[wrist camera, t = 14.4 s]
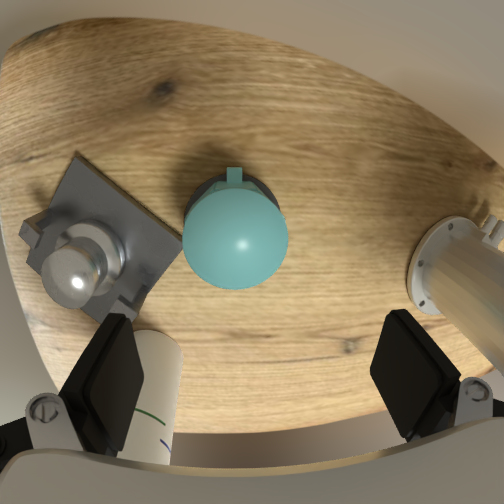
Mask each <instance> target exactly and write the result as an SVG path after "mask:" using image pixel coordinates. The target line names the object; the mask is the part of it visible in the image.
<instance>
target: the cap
mask: <svg viewBox="0 0 504 504" xmlns="http://www.w3.org/2000/svg"><path fill="white" fill-rule="evenodd" d="M182 244H183V250H184V254H185V257H186V259H187V262H188V263H189V265H190V267H191V268H192V269H193V271H194V272H195V273H196V274H197V275H198V276H199V277H200V278H202V279H203V280H204V281H206V282H208V283H210V284H212V285H214V286H216V287H220V288H224V289H233V290H237V289H245V288H250V287H253V286H256V285H258V284H260V283H262V282H263V281H265V280H267V279H268V278H269V277H270V276H272V275H273V274H274V273H275V272H276V270H277V269H278V268H279V266H280V265H281V263H282V261H283V259H284V257H285V255H286V251H287V247H288V231H287V226H286V223H285V218H284V216H283V214H282V213H281V212H280V211H279V209H278V208H277V207H276V205H275V204H274V203H273V202H272V201H271V200H270V199H269V198H268V197H267V196H266V195H265V194H264V193H263V192H262V191H261V190H260V189H259V188H258V187H257V186H256V185H255V184H254V183H253V182H251V181H242V167H227V181H217V183H216V182H215V183H214V184H213V185H212V186H211V187H210V188H209V189H208V190H207V191H206V192H205V193H204V194H203V195H202V196H201V197H200V198H199V199H198V200H197V201H196V202H195V203H194V204H193V205H192V207H191V209H190V210H189V212H188V214H187V216H186V217H185V226H184V229H183V235H182Z"/></svg>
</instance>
